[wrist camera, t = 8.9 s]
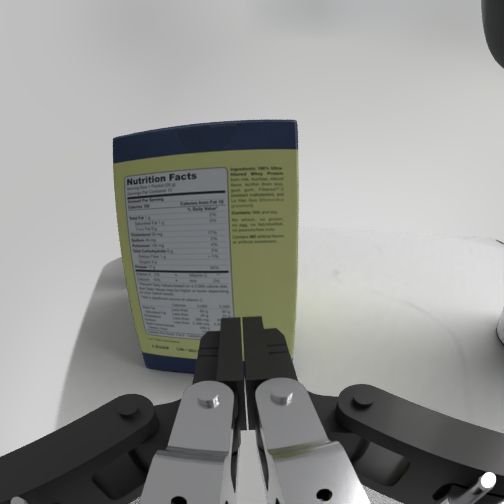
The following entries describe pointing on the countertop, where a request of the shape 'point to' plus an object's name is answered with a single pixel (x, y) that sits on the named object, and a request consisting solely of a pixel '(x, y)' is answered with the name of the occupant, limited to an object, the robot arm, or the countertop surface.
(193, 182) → the protein box
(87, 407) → the countertop surface
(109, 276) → the countertop surface
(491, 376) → the countertop surface
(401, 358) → the countertop surface
